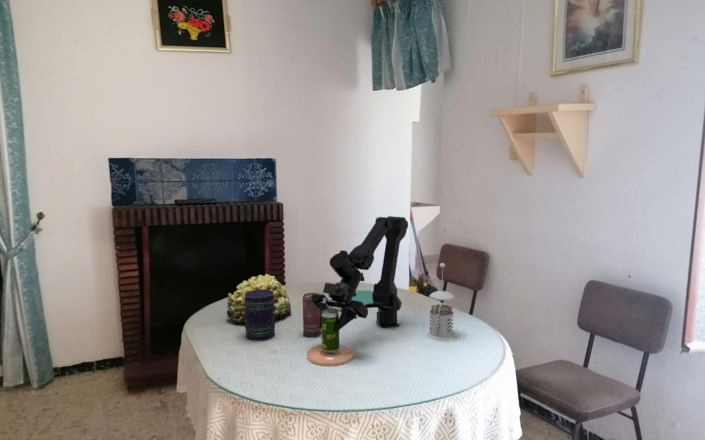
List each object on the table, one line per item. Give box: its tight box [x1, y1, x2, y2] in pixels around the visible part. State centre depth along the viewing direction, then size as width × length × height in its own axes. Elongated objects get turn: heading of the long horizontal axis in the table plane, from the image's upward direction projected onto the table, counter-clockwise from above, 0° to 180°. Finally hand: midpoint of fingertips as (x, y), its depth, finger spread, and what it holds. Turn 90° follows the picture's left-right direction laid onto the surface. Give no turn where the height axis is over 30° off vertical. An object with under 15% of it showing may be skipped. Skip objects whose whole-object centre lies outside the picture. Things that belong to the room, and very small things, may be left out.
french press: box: [426, 262, 457, 341], centre depth 166 cm, size 10×12×25 cm
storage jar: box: [244, 289, 276, 342], centre depth 168 cm, size 10×10×15 cm
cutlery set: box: [330, 289, 374, 314], centre depth 205 cm, size 20×30×2 cm, turn 131°
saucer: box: [306, 344, 354, 367], centre depth 151 cm, size 14×14×1 cm
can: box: [302, 292, 322, 338], centre depth 169 cm, size 6×6×14 cm
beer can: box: [321, 308, 340, 353], centre depth 150 cm, size 5×5×12 cm
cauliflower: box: [226, 273, 292, 324], centre depth 189 cm, size 25×24×16 cm
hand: (327, 329), depth 149 cm, fingers closed on beer can, 5 cm apart
